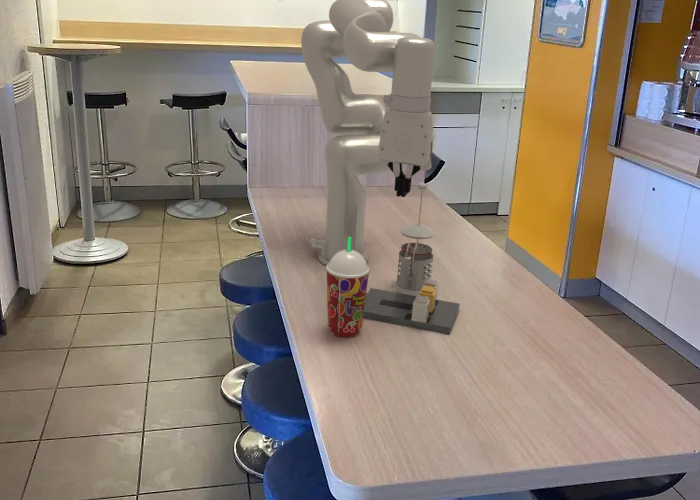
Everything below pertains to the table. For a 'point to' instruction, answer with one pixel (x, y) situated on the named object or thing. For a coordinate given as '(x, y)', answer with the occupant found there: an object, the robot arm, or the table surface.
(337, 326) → the smoothie
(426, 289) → the orange rectangular block
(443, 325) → the panel
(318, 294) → the table surface
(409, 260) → the french press
